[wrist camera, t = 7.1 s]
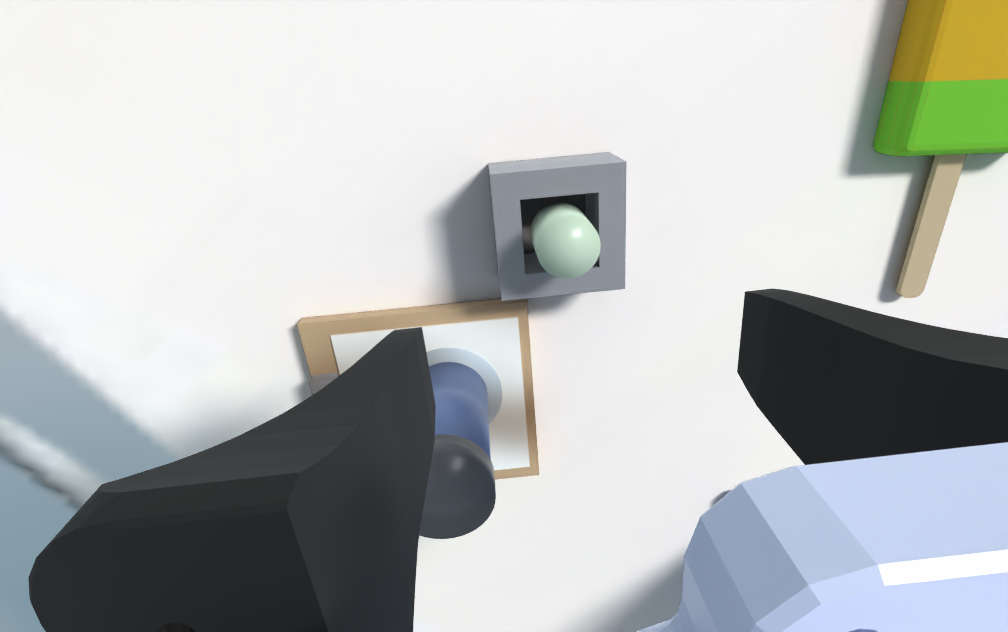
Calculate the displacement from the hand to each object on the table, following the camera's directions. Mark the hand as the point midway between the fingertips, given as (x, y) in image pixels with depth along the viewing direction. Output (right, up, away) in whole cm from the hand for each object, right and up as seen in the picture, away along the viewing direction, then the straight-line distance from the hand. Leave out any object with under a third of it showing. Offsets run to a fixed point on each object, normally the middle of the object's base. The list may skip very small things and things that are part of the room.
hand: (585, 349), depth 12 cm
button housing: (0, +4, +8) cm, 10 cm away
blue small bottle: (-4, -3, +10) cm, 11 cm away
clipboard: (-5, -3, +11) cm, 13 cm away
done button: (0, +4, +7) cm, 8 cm away
